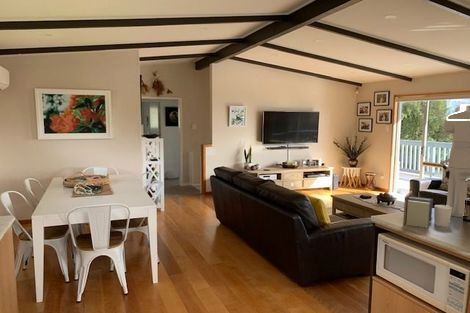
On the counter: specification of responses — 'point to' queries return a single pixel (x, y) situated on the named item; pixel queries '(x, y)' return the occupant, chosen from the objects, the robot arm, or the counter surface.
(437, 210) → the white cup
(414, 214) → the book row
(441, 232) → the counter surface
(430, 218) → the bookend
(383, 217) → the counter surface
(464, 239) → the counter surface
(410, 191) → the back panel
